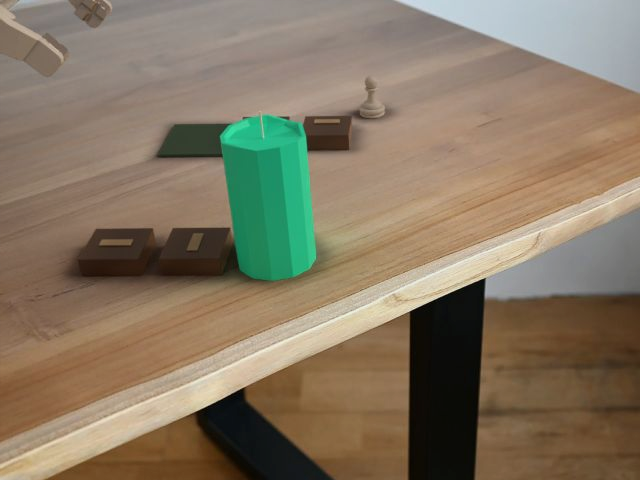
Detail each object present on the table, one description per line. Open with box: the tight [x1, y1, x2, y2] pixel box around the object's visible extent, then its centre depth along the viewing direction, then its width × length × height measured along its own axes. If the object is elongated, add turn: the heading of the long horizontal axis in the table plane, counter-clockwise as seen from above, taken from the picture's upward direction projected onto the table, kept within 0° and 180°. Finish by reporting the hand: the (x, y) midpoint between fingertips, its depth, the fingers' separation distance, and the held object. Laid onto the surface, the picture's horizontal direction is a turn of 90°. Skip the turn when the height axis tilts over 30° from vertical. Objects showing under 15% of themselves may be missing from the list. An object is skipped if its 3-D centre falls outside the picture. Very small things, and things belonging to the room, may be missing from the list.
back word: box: [241, 115, 353, 151], centre depth 86 cm, size 10×4×2 cm, turn 89°
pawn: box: [358, 75, 386, 119], centre depth 90 cm, size 3×3×4 cm
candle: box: [220, 110, 317, 282], centre depth 66 cm, size 6×6×12 cm
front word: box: [77, 226, 234, 277], centre depth 69 cm, size 10×4×2 cm, turn 89°
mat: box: [157, 123, 232, 158], centre depth 87 cm, size 7×7×1 cm
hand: (84, 40), depth 60 cm, fingers open, 8 cm apart
